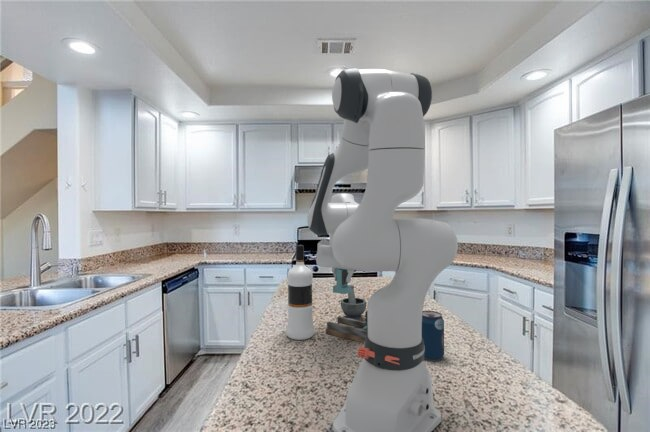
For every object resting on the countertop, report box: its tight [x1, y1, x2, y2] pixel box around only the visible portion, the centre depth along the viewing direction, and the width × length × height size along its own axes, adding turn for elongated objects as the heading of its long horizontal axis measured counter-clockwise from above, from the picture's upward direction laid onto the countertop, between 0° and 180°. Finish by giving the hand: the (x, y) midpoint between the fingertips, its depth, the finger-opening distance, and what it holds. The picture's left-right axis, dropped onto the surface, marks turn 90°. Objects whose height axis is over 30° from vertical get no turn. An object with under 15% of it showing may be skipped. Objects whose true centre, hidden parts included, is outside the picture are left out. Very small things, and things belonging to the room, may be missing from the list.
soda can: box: [422, 310, 445, 362], centre depth 87 cm, size 7×7×12 cm
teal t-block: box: [332, 268, 351, 295], centre depth 106 cm, size 5×4×8 cm
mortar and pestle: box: [340, 284, 367, 321], centre depth 120 cm, size 11×9×12 cm
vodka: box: [285, 244, 315, 341], centre depth 103 cm, size 9×9×30 cm
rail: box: [325, 310, 368, 344], centre depth 103 cm, size 18×9×10 cm, turn 56°
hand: (342, 281), depth 106 cm, fingers closed on teal t-block, 3 cm apart
